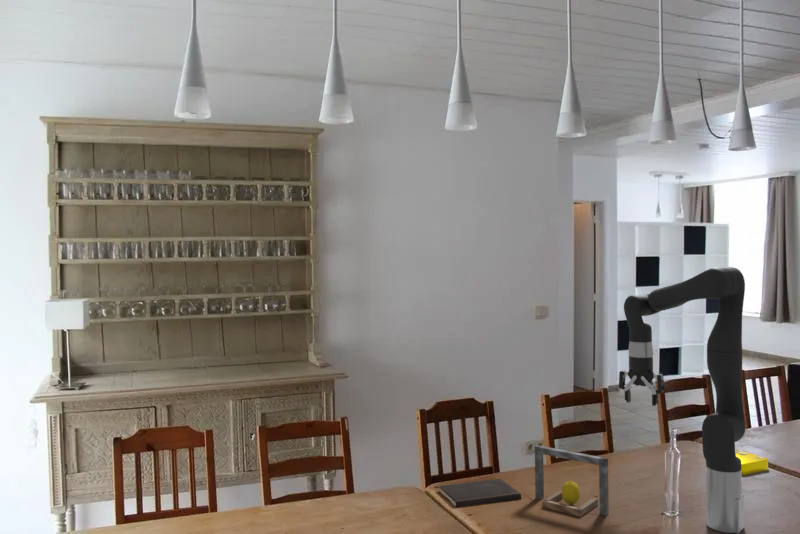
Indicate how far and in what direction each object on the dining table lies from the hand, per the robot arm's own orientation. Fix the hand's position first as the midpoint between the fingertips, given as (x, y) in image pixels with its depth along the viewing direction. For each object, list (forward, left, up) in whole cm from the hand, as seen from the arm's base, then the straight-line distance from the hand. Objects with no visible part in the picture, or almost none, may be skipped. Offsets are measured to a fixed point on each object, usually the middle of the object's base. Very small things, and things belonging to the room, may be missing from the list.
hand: (641, 403), depth 216 cm
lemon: (+14, +24, -30) cm, 41 cm away
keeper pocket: (+14, +24, -30) cm, 41 cm away
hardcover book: (+42, +34, -31) cm, 62 cm away
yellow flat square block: (-17, -51, -31) cm, 62 cm away
